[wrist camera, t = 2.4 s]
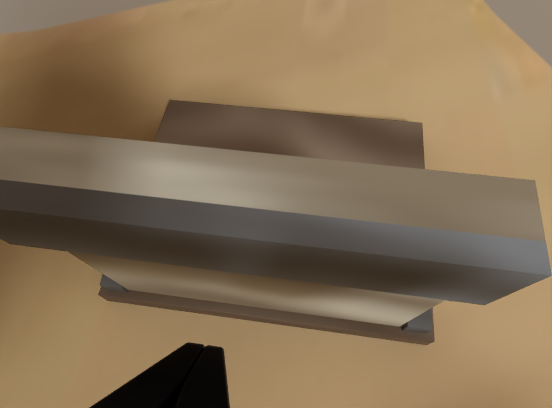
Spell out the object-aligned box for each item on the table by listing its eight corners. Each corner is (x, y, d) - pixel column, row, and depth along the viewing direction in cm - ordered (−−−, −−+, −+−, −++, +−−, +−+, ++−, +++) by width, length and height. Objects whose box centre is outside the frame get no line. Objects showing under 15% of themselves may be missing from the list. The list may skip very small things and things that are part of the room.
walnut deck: (426, 345, 21) (441, 337, 19) (107, 300, 22) (90, 289, 20) (416, 134, 28) (426, 112, 26) (174, 111, 29) (166, 89, 27)
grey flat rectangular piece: (399, 296, 20) (399, 342, 19) (136, 262, 21) (123, 304, 20) (534, 180, 9) (551, 275, 8) (-27, 124, 10) (-73, 200, 9)
